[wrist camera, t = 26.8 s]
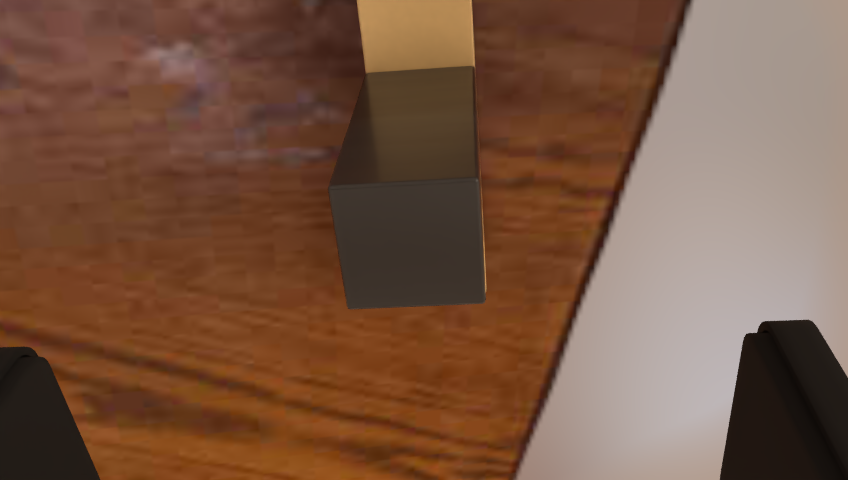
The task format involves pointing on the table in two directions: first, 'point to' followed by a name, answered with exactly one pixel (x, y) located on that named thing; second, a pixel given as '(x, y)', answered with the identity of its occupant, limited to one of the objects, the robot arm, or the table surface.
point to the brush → (412, 162)
